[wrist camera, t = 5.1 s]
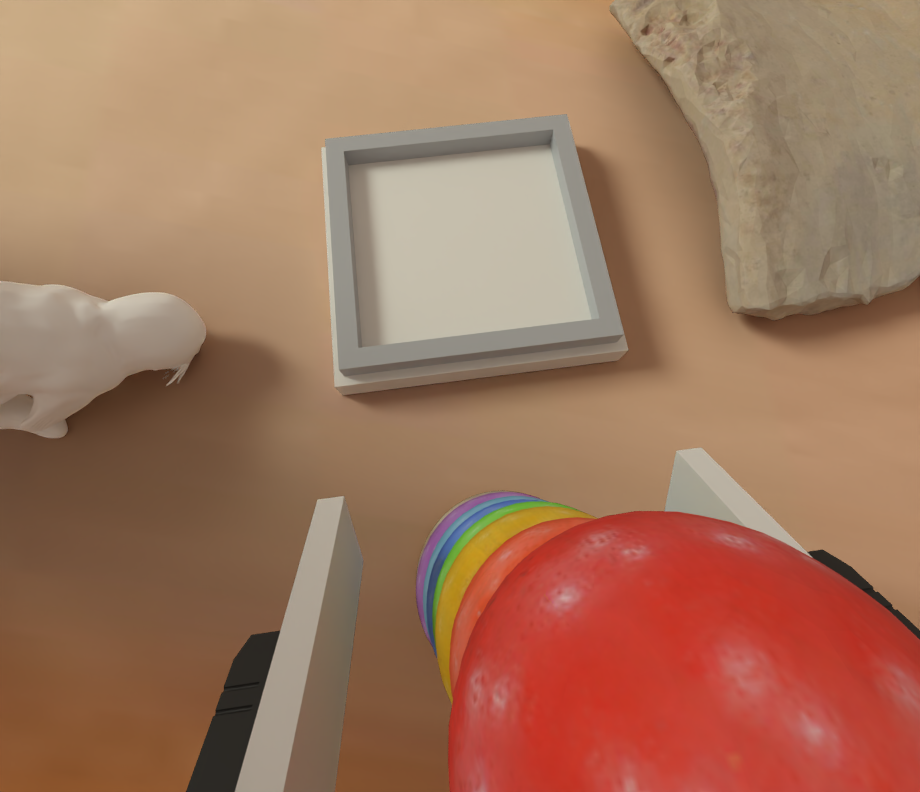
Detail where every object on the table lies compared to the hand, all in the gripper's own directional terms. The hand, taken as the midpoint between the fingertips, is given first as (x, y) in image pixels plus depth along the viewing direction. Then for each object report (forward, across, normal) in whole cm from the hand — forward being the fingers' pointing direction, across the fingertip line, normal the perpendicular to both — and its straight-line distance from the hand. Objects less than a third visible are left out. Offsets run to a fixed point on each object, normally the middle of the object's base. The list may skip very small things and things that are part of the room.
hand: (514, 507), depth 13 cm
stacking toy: (+4, 0, -8) cm, 9 cm away
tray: (+16, 0, +4) cm, 17 cm away
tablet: (+21, +23, +8) cm, 32 cm away
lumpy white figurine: (+13, -19, +1) cm, 23 cm away
